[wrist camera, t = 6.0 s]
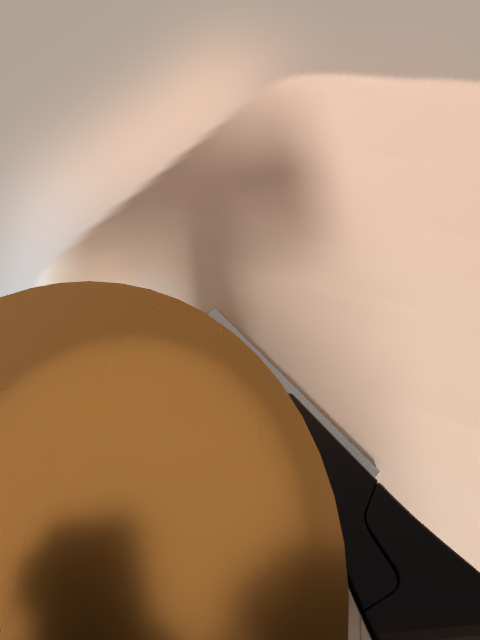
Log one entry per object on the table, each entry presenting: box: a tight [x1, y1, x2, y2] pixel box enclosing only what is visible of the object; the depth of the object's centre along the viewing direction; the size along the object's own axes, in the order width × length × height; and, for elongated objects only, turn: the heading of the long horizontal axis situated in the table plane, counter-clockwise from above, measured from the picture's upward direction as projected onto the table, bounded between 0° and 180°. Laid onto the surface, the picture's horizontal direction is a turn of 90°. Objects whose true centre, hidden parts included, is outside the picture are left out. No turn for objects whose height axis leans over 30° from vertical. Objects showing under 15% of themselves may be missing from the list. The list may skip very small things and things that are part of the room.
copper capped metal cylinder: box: [0, 281, 349, 640], centre depth 9 cm, size 4×4×13 cm
